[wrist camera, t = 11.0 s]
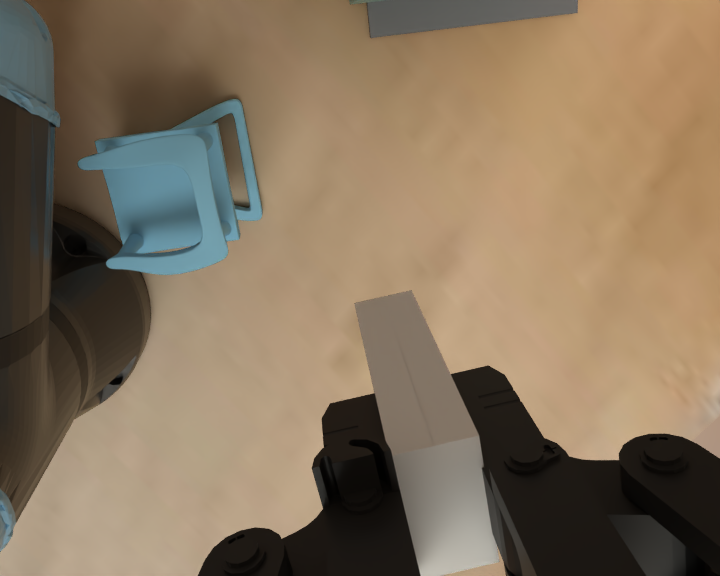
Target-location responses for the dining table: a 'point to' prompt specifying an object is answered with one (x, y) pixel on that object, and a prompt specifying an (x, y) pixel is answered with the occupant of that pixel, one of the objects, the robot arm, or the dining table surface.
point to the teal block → (362, 1)
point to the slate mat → (456, 13)
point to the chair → (175, 193)
